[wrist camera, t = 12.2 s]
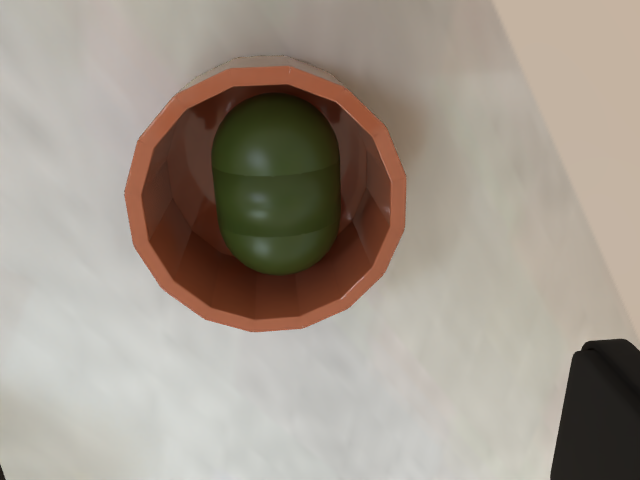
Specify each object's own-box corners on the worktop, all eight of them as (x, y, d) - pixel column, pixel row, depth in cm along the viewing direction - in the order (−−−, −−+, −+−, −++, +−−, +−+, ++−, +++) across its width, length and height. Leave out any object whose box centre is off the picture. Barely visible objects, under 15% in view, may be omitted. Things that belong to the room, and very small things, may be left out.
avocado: (202, 89, 23) (206, 107, 18) (322, 82, 24) (355, 97, 19) (220, 253, 26) (227, 305, 21) (326, 241, 27) (356, 288, 22)
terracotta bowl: (141, 59, 23) (102, 73, 18) (377, 50, 24) (410, 60, 18) (173, 274, 27) (149, 340, 22) (375, 261, 28) (402, 321, 22)
